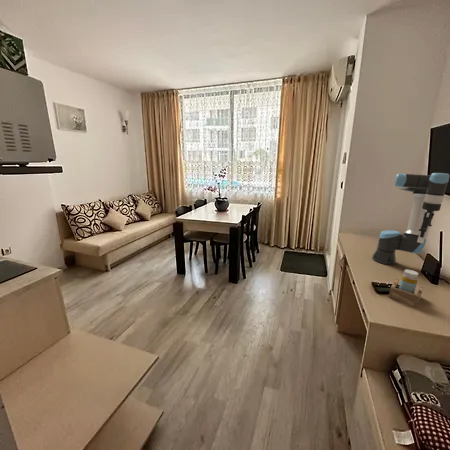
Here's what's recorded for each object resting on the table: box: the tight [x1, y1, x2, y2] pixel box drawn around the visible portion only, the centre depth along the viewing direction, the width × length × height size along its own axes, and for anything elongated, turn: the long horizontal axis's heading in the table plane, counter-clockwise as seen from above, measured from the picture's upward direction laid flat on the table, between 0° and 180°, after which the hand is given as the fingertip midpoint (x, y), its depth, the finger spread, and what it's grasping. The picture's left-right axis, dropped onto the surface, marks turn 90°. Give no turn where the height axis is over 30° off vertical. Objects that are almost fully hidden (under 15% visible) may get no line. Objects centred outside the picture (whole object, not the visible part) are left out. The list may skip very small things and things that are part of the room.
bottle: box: [398, 268, 419, 294], centre depth 135 cm, size 7×7×15 cm
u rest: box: [388, 278, 424, 308], centre depth 135 cm, size 14×13×6 cm
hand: (422, 239), depth 137 cm, fingers open, 13 cm apart
